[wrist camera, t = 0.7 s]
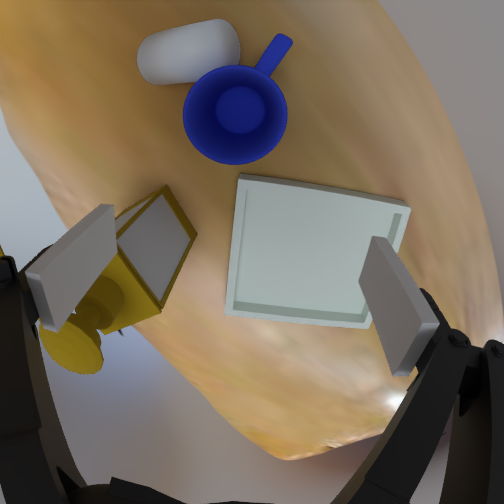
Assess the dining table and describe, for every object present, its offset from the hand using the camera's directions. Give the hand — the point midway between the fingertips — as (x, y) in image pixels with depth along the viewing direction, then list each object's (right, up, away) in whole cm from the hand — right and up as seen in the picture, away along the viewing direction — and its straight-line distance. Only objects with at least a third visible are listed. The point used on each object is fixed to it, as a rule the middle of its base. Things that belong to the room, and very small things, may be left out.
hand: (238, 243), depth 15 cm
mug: (0, +16, +16) cm, 23 cm away
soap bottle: (-12, +6, +22) cm, 26 cm away
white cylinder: (-2, +17, +8) cm, 19 cm away
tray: (+8, -1, +24) cm, 25 cm away
